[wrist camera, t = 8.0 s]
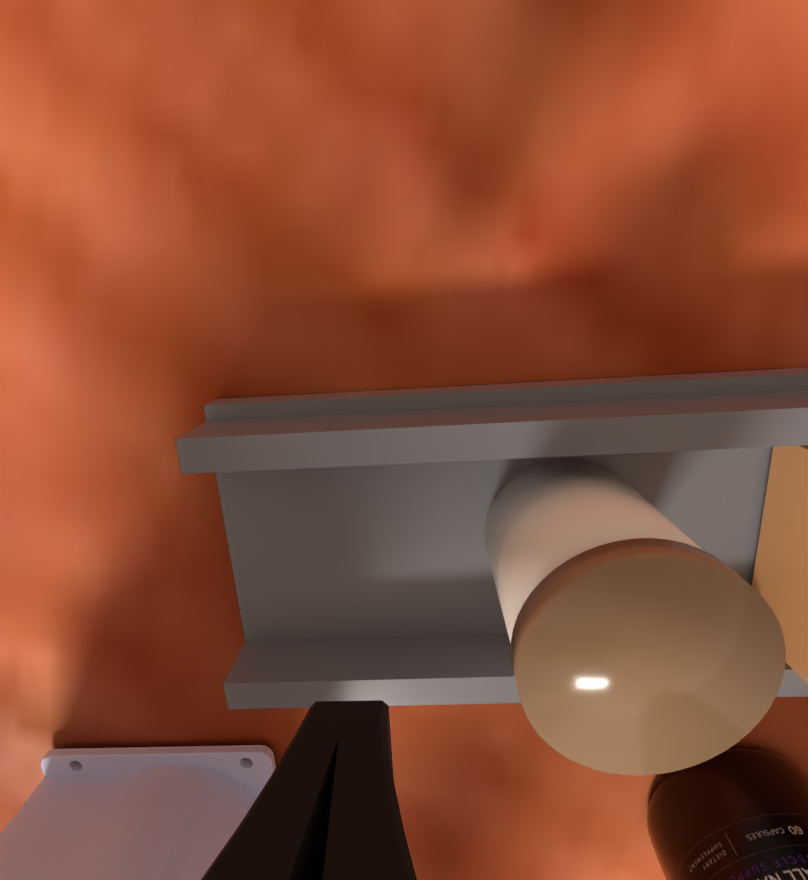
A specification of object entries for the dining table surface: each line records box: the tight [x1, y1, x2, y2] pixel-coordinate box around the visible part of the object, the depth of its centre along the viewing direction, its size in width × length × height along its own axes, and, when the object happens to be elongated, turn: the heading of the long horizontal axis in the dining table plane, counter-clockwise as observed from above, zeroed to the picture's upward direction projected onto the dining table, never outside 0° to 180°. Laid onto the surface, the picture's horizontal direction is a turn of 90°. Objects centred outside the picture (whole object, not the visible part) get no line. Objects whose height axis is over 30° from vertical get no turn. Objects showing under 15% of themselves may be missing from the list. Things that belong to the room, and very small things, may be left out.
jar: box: [484, 458, 786, 776], centre depth 13 cm, size 5×5×6 cm
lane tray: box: [175, 367, 808, 709], centre depth 14 cm, size 24×10×6 cm, turn 94°
